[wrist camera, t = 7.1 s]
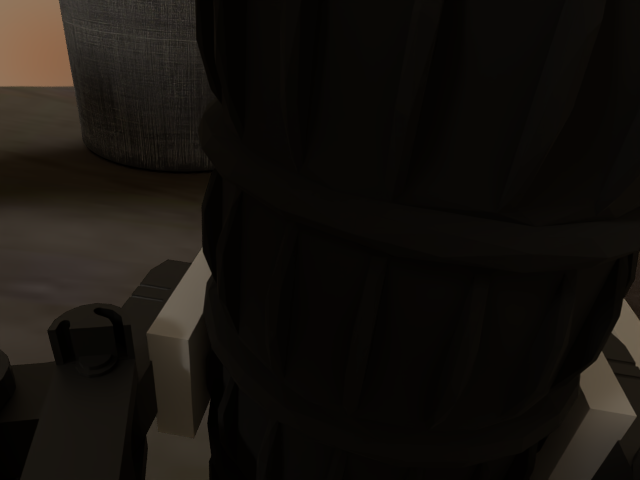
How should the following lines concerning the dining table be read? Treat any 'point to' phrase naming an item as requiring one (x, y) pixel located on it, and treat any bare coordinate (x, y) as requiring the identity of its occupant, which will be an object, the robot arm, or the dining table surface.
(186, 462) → the dining table surface
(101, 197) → the dining table surface
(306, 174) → the ribbed tower figurine
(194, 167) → the planter
